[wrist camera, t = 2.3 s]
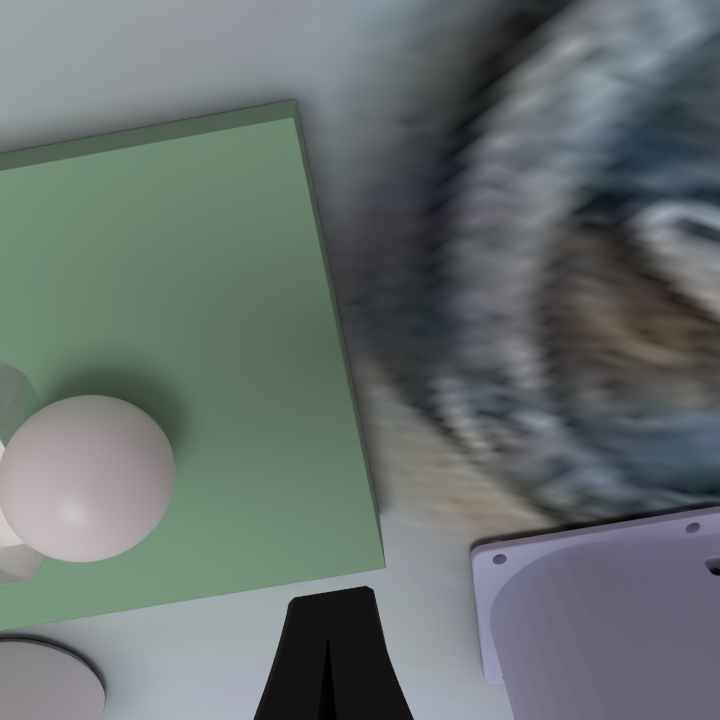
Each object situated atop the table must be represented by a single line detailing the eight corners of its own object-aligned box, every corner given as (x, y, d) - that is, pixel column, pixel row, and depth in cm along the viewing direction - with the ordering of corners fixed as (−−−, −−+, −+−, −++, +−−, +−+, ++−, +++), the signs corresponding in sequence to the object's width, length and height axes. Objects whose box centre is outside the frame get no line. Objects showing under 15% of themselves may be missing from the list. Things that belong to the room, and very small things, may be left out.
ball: (161, 352, 17) (122, 450, 13) (205, 472, 19) (180, 584, 15) (8, 379, 17) (-70, 482, 13) (68, 495, 19) (14, 611, 15)
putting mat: (295, 99, 16) (293, 117, 14) (379, 515, 23) (385, 568, 21) (-403, 227, 17) (-505, 263, 15) (-114, 596, 24) (-155, 656, 22)
